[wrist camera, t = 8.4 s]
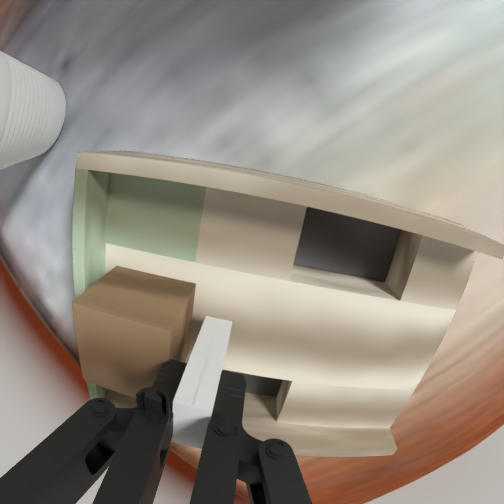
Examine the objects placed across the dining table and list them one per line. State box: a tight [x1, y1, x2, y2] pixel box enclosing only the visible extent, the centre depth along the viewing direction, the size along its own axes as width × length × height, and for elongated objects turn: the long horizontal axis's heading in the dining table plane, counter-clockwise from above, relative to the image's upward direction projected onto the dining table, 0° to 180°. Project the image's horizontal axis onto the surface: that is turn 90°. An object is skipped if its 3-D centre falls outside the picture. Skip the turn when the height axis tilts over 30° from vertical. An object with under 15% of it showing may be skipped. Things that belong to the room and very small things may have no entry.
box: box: [72, 151, 504, 457], centre depth 18 cm, size 18×23×6 cm
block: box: [72, 266, 196, 398], centre depth 15 cm, size 5×5×5 cm
